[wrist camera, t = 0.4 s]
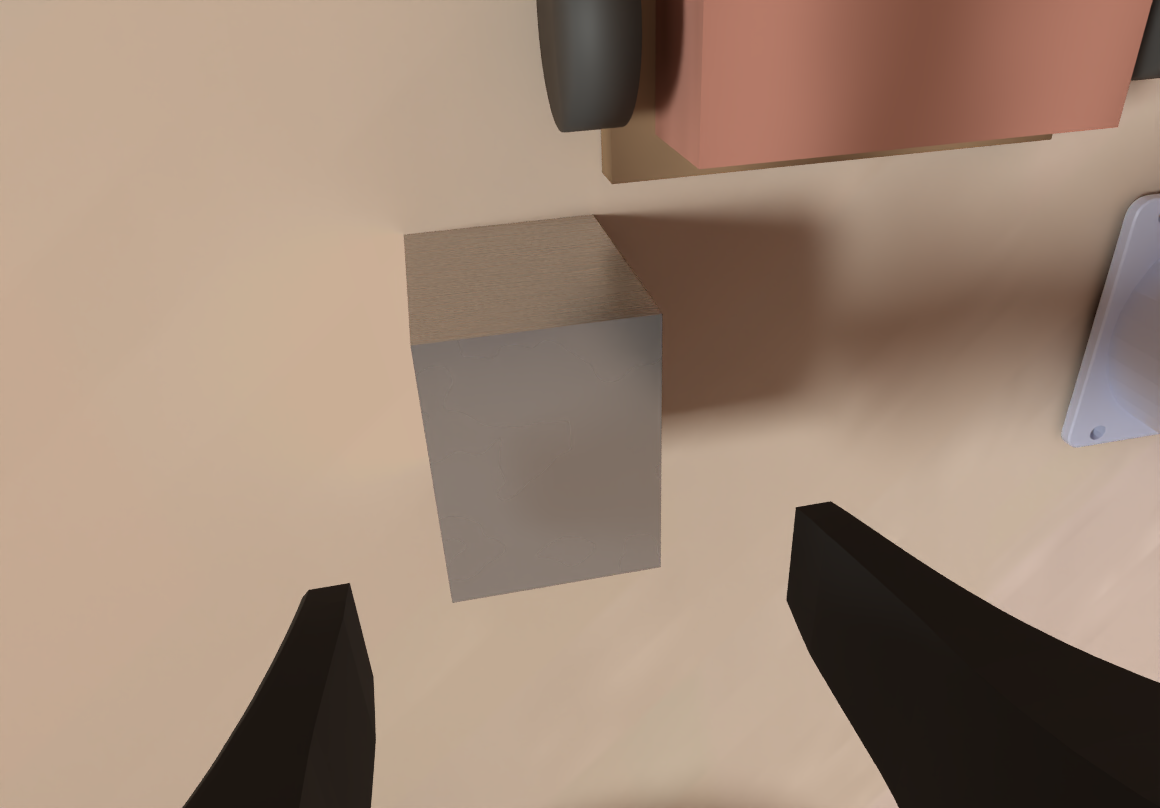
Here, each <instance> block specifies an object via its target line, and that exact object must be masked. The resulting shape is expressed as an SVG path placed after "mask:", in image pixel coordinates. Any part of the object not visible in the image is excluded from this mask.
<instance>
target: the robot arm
mask: <svg viewBox="0 0 1160 808" xmlns="http://www.w3.org/2000/svg"><path fill="white" fill-rule="evenodd" d="M1159 215H1160V194H1152V195H1145V196H1142V197H1140V198H1138V199H1137V200H1135V201H1134V202H1133V203H1132V204H1131V205H1130V207H1129V208H1128V210H1127V212H1126V214H1125V218H1124V221H1123V224H1122V228H1121V231H1120V235H1119V238H1118V241H1117V245H1116V248H1115V252H1114V255H1113V258H1112V262H1111V265H1110V269H1109V272H1108V275H1107V279H1106V282H1105V286H1104V289H1103V292H1102V296H1101V299H1100V303H1099V306H1098V309H1097V313H1096V316H1095V320H1094V323H1093V326H1092V330H1091V333H1090V337H1089V340H1088V343H1087V347H1086V350H1085V354H1084V357H1083V360H1082V364H1081V367H1080V371H1079V374H1078V377H1077V381H1076V384H1075V388H1074V391H1073V394H1072V398H1071V401H1070V405H1069V408H1068V411H1067V415H1066V418H1065V422H1064V425H1063V428H1062V433H1061V437H1062V439H1063V440H1064V441H1065V442H1066V443H1067V444H1069V445H1070V446H1072V447H1083V446H1089V445H1096V444H1102V443H1108V442H1114V441H1120V440H1126V439H1132V438H1138V437H1144V436H1150V435H1156V434H1160V217H1159ZM787 602H788V605H789V607H790V610H791V612H792V614H793V617H794V619H795V622H796V624H797V626H798V629H799V631H800V633H801V636H802V638H803V640H804V642H805V644H806V647H807V649H808V651H809V653H810V655H811V657H812V659H813V661H814V662H815V664H816V666H817V667H818V669H819V671H820V673H821V674H822V676H823V678H824V679H825V681H826V683H827V684H828V686H829V688H830V690H831V691H832V693H833V695H834V696H835V698H836V700H837V701H838V703H839V705H840V706H841V708H842V710H843V711H844V713H845V715H846V716H847V718H848V720H849V721H850V723H851V725H852V726H853V728H854V730H855V731H856V733H857V735H858V736H859V738H860V739H861V741H862V743H863V744H864V746H865V748H866V749H867V751H868V753H869V754H870V756H871V758H872V759H873V761H874V763H875V764H876V766H877V768H878V769H879V771H880V773H881V775H882V777H883V778H884V780H885V782H886V784H887V786H888V787H889V789H890V791H891V793H892V795H893V797H894V799H895V801H896V803H897V805H898V807H899V808H1160V683H1159V682H1156V681H1153V680H1151V679H1148V678H1145V677H1143V676H1140V675H1138V674H1136V673H1133V672H1131V671H1128V670H1126V669H1124V668H1121V667H1119V666H1116V665H1114V664H1112V663H1109V662H1107V661H1104V660H1102V659H1100V658H1097V657H1095V656H1093V655H1090V654H1088V653H1086V652H1084V651H1082V650H1079V649H1077V648H1075V647H1073V646H1071V645H1068V644H1066V643H1064V642H1062V641H1060V640H1058V639H1056V638H1054V637H1052V636H1050V635H1048V634H1046V633H1044V632H1042V631H1040V630H1038V629H1036V628H1034V627H1032V626H1030V625H1028V624H1026V623H1024V622H1022V621H1020V620H1018V619H1017V618H1015V617H1013V616H1011V615H1009V614H1007V613H1005V612H1004V611H1002V610H1000V609H998V608H997V607H995V606H993V605H991V604H990V603H988V602H986V601H984V600H983V599H981V598H979V597H978V596H976V595H974V594H972V593H971V592H969V591H967V590H965V589H964V588H962V587H961V586H959V585H957V584H956V583H954V582H952V581H951V580H949V579H948V578H946V577H944V576H943V575H941V574H940V573H938V572H936V571H935V570H933V569H932V568H930V567H929V566H927V565H926V564H924V563H922V562H921V561H919V560H918V559H916V558H915V557H913V556H912V555H910V554H909V553H907V552H906V551H904V550H903V549H901V548H900V547H898V546H897V545H895V544H894V543H892V542H891V541H889V540H888V539H886V538H885V537H883V536H882V535H880V534H879V533H878V532H876V531H875V530H873V529H872V528H870V527H869V526H867V525H866V524H864V523H863V522H861V521H860V520H858V519H857V518H855V517H854V516H853V515H851V514H850V513H848V512H847V511H845V510H843V509H842V508H840V507H839V506H837V505H836V504H834V503H833V502H831V501H830V502H825V503H819V504H813V505H807V506H801V507H796V512H795V522H794V532H793V541H792V551H791V561H790V571H789V581H788V590H787ZM375 744H376V733H375V703H374V680H373V674H372V670H371V666H370V662H369V658H368V654H367V650H366V646H365V642H364V638H363V634H362V630H361V626H360V622H359V618H358V614H357V610H356V606H355V602H354V598H353V594H352V590H351V586H350V583H347V584H341V585H336V586H330V587H324V588H318V589H312V590H308V592H307V593H306V594H305V595H304V596H303V598H302V600H301V602H300V605H299V607H298V610H297V612H296V614H295V616H294V618H293V621H292V623H291V625H290V627H289V629H288V632H287V634H286V636H285V638H284V640H283V642H282V644H281V646H280V648H279V650H278V652H277V654H276V656H275V658H274V660H273V662H272V664H271V666H270V668H269V669H268V671H267V673H266V675H265V677H264V679H263V680H262V682H261V684H260V686H259V688H258V690H257V691H256V693H255V695H254V697H253V699H252V701H251V702H250V704H249V706H248V708H247V709H246V711H245V713H244V715H243V716H242V718H241V719H240V721H239V723H238V724H237V726H236V728H235V729H234V731H233V732H232V734H231V736H230V737H229V739H228V741H227V742H226V744H225V745H224V747H223V749H222V750H221V752H220V753H219V755H218V757H217V758H216V760H215V761H214V763H213V764H212V766H211V767H210V769H209V770H208V772H207V773H206V775H205V776H204V778H203V779H202V781H201V782H200V784H199V785H198V787H197V788H196V789H195V791H194V792H193V794H192V795H191V797H190V798H189V799H188V801H187V802H186V803H185V805H184V806H183V808H371V798H372V785H373V771H374V758H375Z"/></svg>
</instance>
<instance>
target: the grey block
mask: <svg viewBox="0 0 1160 808" xmlns="http://www.w3.org/2000/svg"><path fill="white" fill-rule="evenodd" d="M404 246H405V263H406V279H407V295H408V312H409V328H410V344H411V351H412V357H413V364H414V370H415V376H416V382H417V388H418V394H419V400H420V406H421V413H422V419H423V425H424V431H425V437H426V443H427V449H428V456H429V462H430V468H431V474H432V480H433V486H434V492H435V499H436V505H437V511H438V517H439V523H440V529H441V535H442V542H443V548H444V554H445V560H446V566H447V572H448V578H449V584H450V591H451V597H452V603H454V602H460V601H466V600H472V599H477V598H483V597H489V596H495V595H501V594H507V593H512V592H518V591H524V590H530V589H536V588H541V587H547V586H553V585H559V584H565V583H571V582H576V581H582V580H588V579H594V578H600V577H605V576H611V575H617V574H623V573H629V572H635V571H640V570H646V569H652V568H658V567H661V428H662V313H661V311H660V310H659V308H658V307H657V306H656V304H655V303H654V301H653V300H652V298H651V297H650V296H649V294H648V293H647V291H646V290H645V288H644V287H643V286H642V284H641V283H640V281H639V280H638V278H637V277H636V276H635V274H634V273H633V271H632V270H631V268H630V267H629V266H628V264H627V263H626V261H625V260H624V258H623V257H622V256H621V254H620V253H619V251H618V250H617V248H616V247H615V245H614V244H613V243H612V241H611V240H610V238H609V237H608V235H607V234H606V233H605V231H604V230H603V228H602V227H601V225H600V224H599V223H598V221H597V220H596V218H595V217H594V215H585V216H576V217H566V218H557V219H547V220H538V221H529V222H519V223H510V224H501V225H491V226H482V227H473V228H463V229H454V230H445V231H435V232H426V233H417V234H407V235H404Z"/></svg>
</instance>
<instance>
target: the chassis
mask: <svg viewBox="0 0 1160 808" xmlns="http://www.w3.org/2000/svg"><path fill="white" fill-rule="evenodd" d="M537 17H538V30H539V40H540V50H541V58H542V66H543V72H544V79H545V84H546V90H547V95H548V99H549V104H550V108H551V111H552V115H553V118H554V121H555V123H556V125H557V127H558V129H559V130H560V131H561V132H575V131H585V130H596V129H601V146H602V173H603V174H604V175H605V176H606V177H607V179H608V180H609V181H610V182H611V183H612V184H618V183H628V182H638V181H648V180H657V179H667V178H677V177H687V176H697V175H707V174H716V173H726V172H736V171H746V170H756V169H765V168H775V167H785V166H795V165H805V164H815V163H824V162H834V161H844V160H854V159H864V158H873V157H883V156H893V155H903V154H913V153H923V152H932V151H942V150H952V149H962V148H972V147H981V146H991V145H1001V144H1011V143H1021V142H1031V141H1040V140H1050V139H1051V138H1052V134H1054V133H1064V132H1074V131H1084V130H1094V129H1104V128H1114V127H1118V124H1119V121H1120V117H1121V114H1122V110H1123V106H1124V103H1125V99H1126V95H1127V92H1128V88H1129V84H1130V81H1132V80H1143V79H1154V78H1160V0H537Z"/></svg>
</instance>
